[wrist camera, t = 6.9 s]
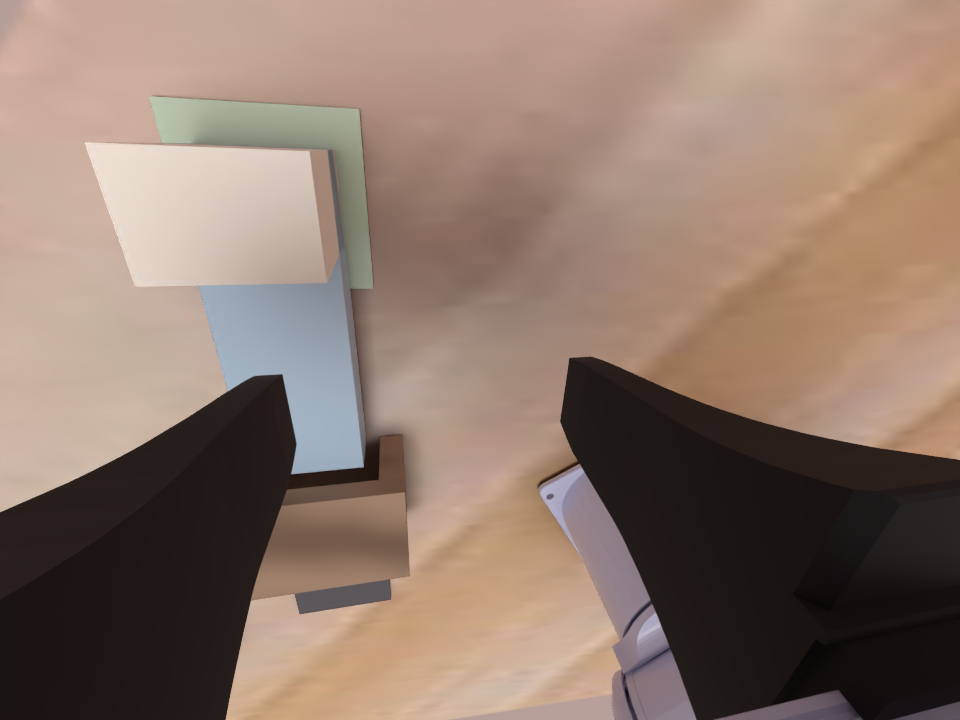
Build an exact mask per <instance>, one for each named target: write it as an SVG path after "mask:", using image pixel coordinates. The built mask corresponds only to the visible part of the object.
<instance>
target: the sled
mask: <svg viewBox="0 0 960 720" xmlns="http://www.w3.org/2000/svg"><path fill="white" fill-rule="evenodd" d="M85 145H86V148H87V151H88V154H89V156H90V159H91V162H92V165H93V168H94V171H95V174H96V176H97V179H98V182H99V185H100V188H101V191H102V194H103V196H104V199H105V202H106V205H107V208H108V211H109V213H110V216H111V219H112V222H113V225H114V228H115V231H116V233H117V236H118V239H119V242H120V245H121V248H122V250H123V253H124V256H125V259H126V262H127V265H128V268H129V270H130V273H131V276H132V279H133V282H134V285H135V287H139V286H197V285H198V286H199V290H200V293H201V297H202V300H203V304H204V307H205V311H206V315H207V318H208V322H209V325H210V329H211V333H212V336H213V340H214V343H215V347H216V350H217V354H218V358H219V361H220V365H221V368H222V372H223V376H224V379H225V383H226V386H227V390H228V391H229V390H231V389H233V388H234V387H236V386H237V385H239V384H240V383H242V382H244V381H245V380H247V379H249V378H251V377H253V376H259V375H277V374H282V375H283V380H284V384H285V389H286V394H287V399H288V404H289V409H290V414H291V418H292V423H293V428H294V433H295V438H296V443H297V446H296V451H295V457H294V463H293V468H292V473H291V474H300V473H310V472H320V471H330V470H340V469H350V468H360V467H364V457H365V444H366V431H365V422H364V413H363V403H362V394H361V385H360V375H359V366H358V357H357V347H356V338H355V328H354V319H353V310H352V300H351V291H350V282H349V272H348V263H347V254H346V244H345V235H344V226H343V216H342V207H341V197H340V188H339V179H338V169H337V160H336V151H335V149H314V148H290V147H266V146H243V145H219V144H195V143H112V142H85Z"/></svg>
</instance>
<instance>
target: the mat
mask: <svg viewBox="0 0 960 720" xmlns="http://www.w3.org/2000/svg"><path fill="white" fill-rule="evenodd" d="M149 99H150V102H151V106H152V110H153V113H154V117H155V120H156V124H157V128H158V131H159V135H160V139H161V142H162V143H195V144H219V145H243V146H266V147H290V148H314V149H335V151H336V160H337V169H338V179H339V188H340V197H341V207H342V216H343V226H344V235H345V244H346V254H347V263H348V272H349V282H350V289H373V288H374V286H373V273H372V261H371V248H370V236H369V223H368V211H367V198H366V186H365V173H364V161H363V149H362V136H361V124H360V111H359V109H352V108H335V107H319V106H302V105H286V104H269V103H252V102H236V101H219V100H203V99H186V98H170V97H153V96H149Z"/></svg>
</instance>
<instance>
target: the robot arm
mask: <svg viewBox="0 0 960 720" xmlns="http://www.w3.org/2000/svg"><path fill="white" fill-rule="evenodd" d="M560 422H561V424H562V427H563V430H564V432H565V435H566V437H567V440H568V442H569V444H570V447H571V449H572V451H573V453H574V455H575V457H576V459H577V460H578V462H579V464H578V465H576V466H574V467H572V468H571V469H569V470H567V471H565V472H563V473H561V474H559V475H558V476H556V477H554V478H552V479H550V480H548V481H546V482H545V483H543V484H541V485H540V486H539V488H538V491H539V493H540V496H541V497H542V499H543V500H544V502H545V503H546V505H547V506H548V508H549V509H550V511H551V512H552V514H553V515H554V517H555V518H556V520H557V521H558V523H559V524H560V526H561V527H562V529H563V530H564V532H565V533H566V535H567V537H568V538H569V540H570V541H571V543H572V544H573V546H574V547H575V549H576V550H577V552H578V553H579V555H580V556H581V558H582V560H583V562H584V564H585V566H586V568H587V570H588V573H589V575H590V577H591V579H592V581H593V583H594V585H595V587H596V590H597V592H598V594H599V596H600V598H601V600H602V602H603V605H604V607H605V609H606V611H607V613H608V615H609V617H610V619H611V622H612V624H613V626H614V628H615V630H616V632H617V634H618V637H619V639H620V641H619V642H618V643H616V644H615V645H613V647H612V648H613V650H614V652H615V655H616V657H617V659H618V662H619V664H620V666H621V668H622V669H621V670H619V671H617V672H616V673H615V674H614V675H613V678H612V710H613V715H614V719H615V720H960V460H956V459H949V458H942V457H935V456H928V455H921V454H915V453H908V452H901V451H894V450H887V449H880V448H874V447H869V446H863V445H858V444H853V443H848V442H842V441H837V440H832V439H827V438H823V437H818V436H814V435H809V434H805V433H801V432H797V431H793V430H789V429H785V428H781V427H777V426H773V425H769V424H766V423H762V422H759V421H755V420H752V419H748V418H745V417H742V416H739V415H736V414H733V413H730V412H727V411H724V410H721V409H718V408H715V407H712V406H709V405H706V404H704V403H701V402H698V401H696V400H693V399H691V398H688V397H686V396H683V395H681V394H678V393H676V392H674V391H671V390H669V389H667V388H664V387H662V386H660V385H657V384H655V383H653V382H651V381H648V380H646V379H644V378H642V377H639V376H637V375H635V374H633V373H631V372H628V371H626V370H624V369H622V368H620V367H617V366H615V365H613V364H610V363H608V362H605V361H603V360H600V359H597V358H594V357H578V358H570V359H569V366H568V373H567V379H566V386H565V393H564V400H563V407H562V414H561V420H560ZM296 446H297V443H296V438H295V433H294V428H293V423H292V418H291V414H290V409H289V404H288V399H287V394H286V389H285V384H284V380H283V375H282V374H277V375H259V376H253V377H251V378H249V379H247V380H245V381H244V382H242V383H240V384H239V385H237V386H236V387H234V388H233V389H231V390H229V391H228V392H226V393H225V394H223V395H222V396H220V397H219V398H217V399H216V400H214V401H213V402H211V403H210V404H208V405H206V406H205V407H203V408H202V409H200V410H199V411H197V412H196V413H194V414H193V415H191V416H189V417H188V418H186V419H185V420H183V421H181V422H180V423H178V424H176V425H175V426H173V427H171V428H170V429H168V430H166V431H165V432H163V433H161V434H160V435H158V436H156V437H155V438H153V439H151V440H150V441H148V442H146V443H145V444H143V445H141V446H139V447H138V448H136V449H134V450H132V451H130V452H128V453H127V454H125V455H123V456H121V457H119V458H117V459H115V460H113V461H111V462H109V463H107V464H105V465H103V466H101V467H99V468H97V469H95V470H93V471H91V472H89V473H87V474H85V475H83V476H81V477H79V478H77V479H75V480H73V481H71V482H69V483H67V484H64V485H62V486H60V487H57V488H55V489H53V490H51V491H48V492H46V493H44V494H41V495H39V496H37V497H34V498H32V499H30V500H28V501H25V502H23V503H21V504H18V505H16V506H14V507H12V508H9V509H7V510H5V511H2V512H0V720H225V719H226V714H227V709H228V703H229V698H230V693H231V688H232V683H233V679H234V674H235V669H236V665H237V660H238V655H239V650H240V646H241V641H242V636H243V632H244V628H245V623H246V619H247V615H248V611H249V606H250V602H251V598H252V593H253V589H254V586H255V583H256V579H257V576H258V572H259V569H260V566H261V563H262V560H263V557H264V555H265V552H266V549H267V546H268V543H269V540H270V537H271V535H272V532H273V529H274V526H275V523H276V520H277V517H278V514H279V512H280V509H281V506H282V503H283V500H284V497H285V494H286V491H287V488H288V485H289V482H290V478H291V473H292V468H293V463H294V457H295V451H296ZM548 494H550V495H548Z"/></svg>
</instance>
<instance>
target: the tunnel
mask: <svg viewBox="0 0 960 720" xmlns="http://www.w3.org/2000/svg"><path fill="white" fill-rule="evenodd" d="M408 576H410V571H409V551H408V531H407V511H406V494H405V476H404V459H403V441H402V435H391V436H380V456H379V480H373V481H364V482H354V483H345V484H335V485H326V486H316V487H307V488H298V489H288V490H287V491H286V494H285V497H284V500H283V503H282V506H281V509H280V512H279V514H278V517H277V520H276V523H275V526H274V529H273V532H272V535H271V537H270V540H269V543H268V546H267V549H266V552H265V555H264V557H263V560H262V563H261V566H260V569H259V572H258V576H257V579H256V583H255V586H254V589H253V593H252V598H251V600H256V599H263V598H270V597H276V596H283V595H289V594H296V593H303V592H309V591H316V590H322V589H329V588H336V587H342V586H349V585H355V584H362V583H369V582H375V581H382V580H388V579H395V578H401V577H408Z"/></svg>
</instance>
